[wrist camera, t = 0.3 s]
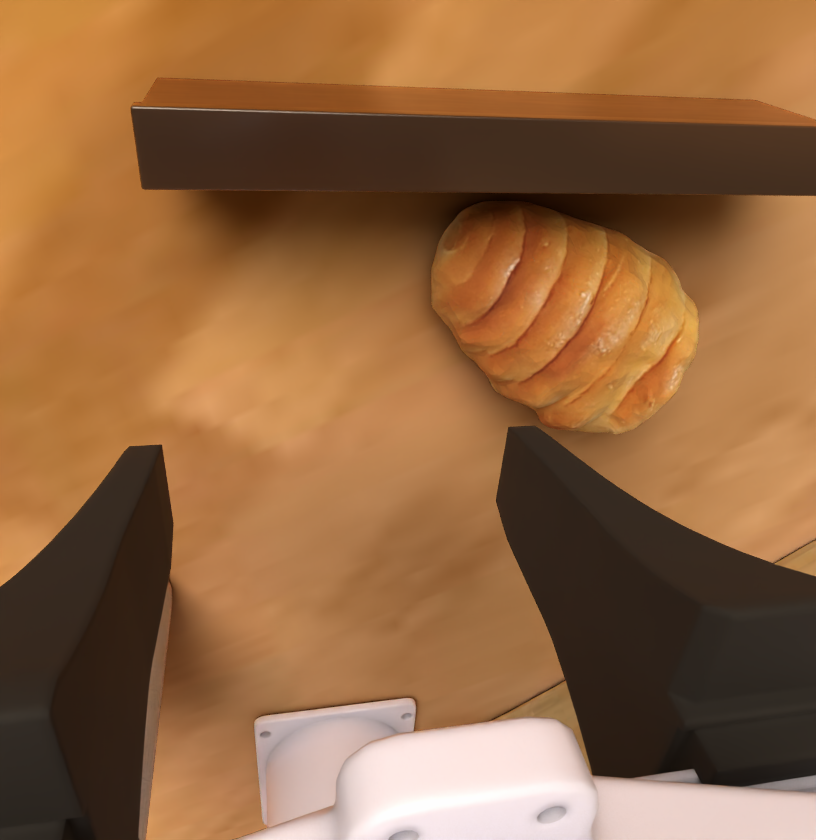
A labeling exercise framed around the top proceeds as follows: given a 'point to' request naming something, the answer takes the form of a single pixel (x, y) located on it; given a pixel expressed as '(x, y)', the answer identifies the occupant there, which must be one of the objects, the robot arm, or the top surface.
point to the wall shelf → (464, 141)
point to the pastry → (564, 314)
